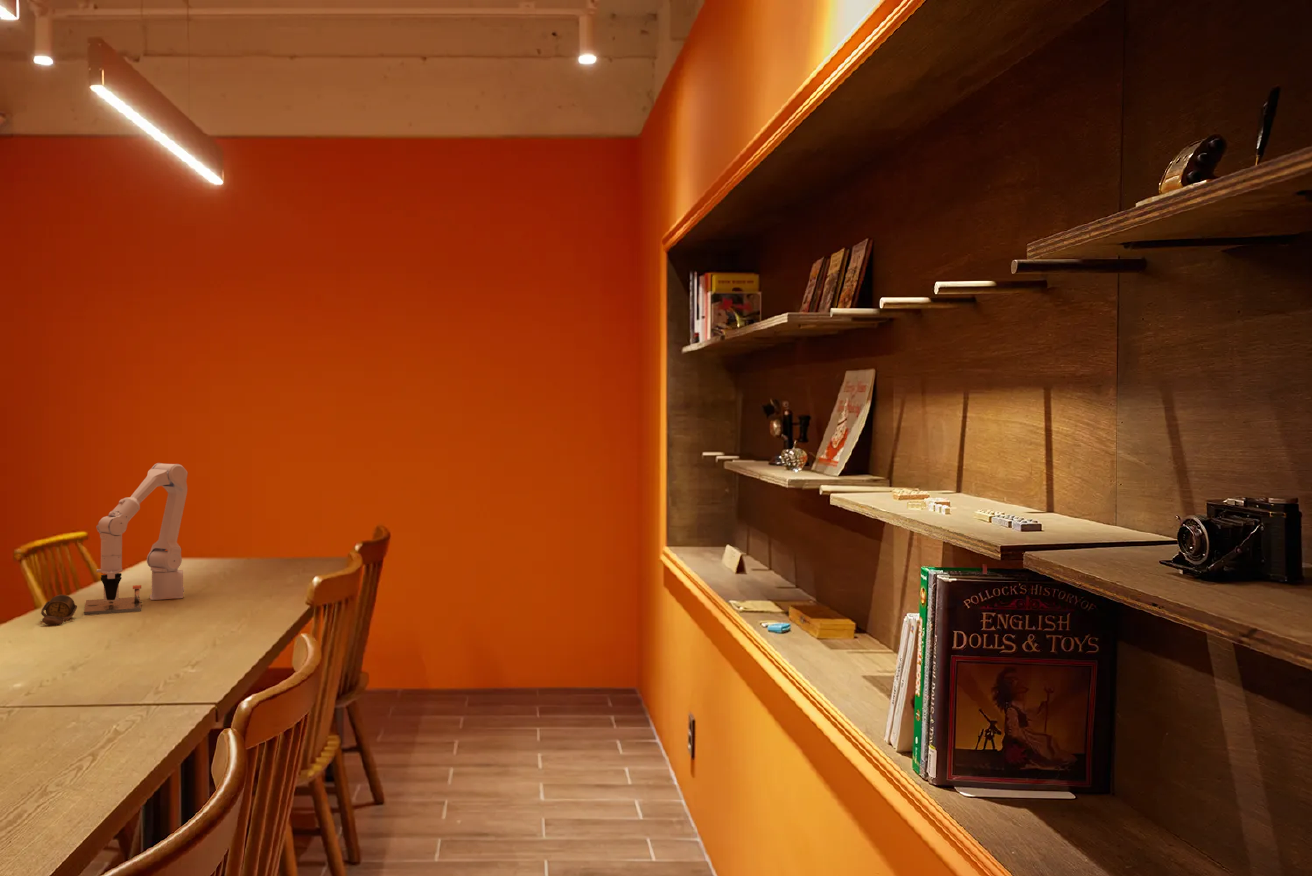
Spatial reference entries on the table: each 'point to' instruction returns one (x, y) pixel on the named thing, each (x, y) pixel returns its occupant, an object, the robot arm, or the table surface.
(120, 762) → the table surface
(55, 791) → the table surface
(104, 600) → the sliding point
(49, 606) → the dark brown rounded piece
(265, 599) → the table surface
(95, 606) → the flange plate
